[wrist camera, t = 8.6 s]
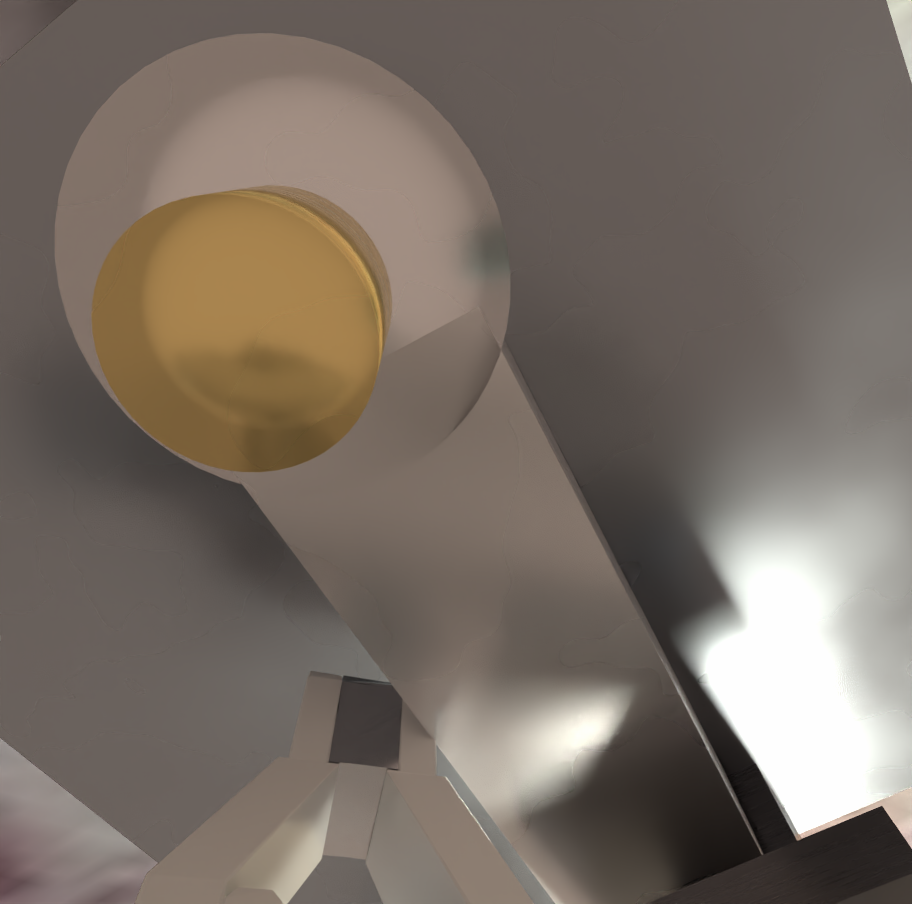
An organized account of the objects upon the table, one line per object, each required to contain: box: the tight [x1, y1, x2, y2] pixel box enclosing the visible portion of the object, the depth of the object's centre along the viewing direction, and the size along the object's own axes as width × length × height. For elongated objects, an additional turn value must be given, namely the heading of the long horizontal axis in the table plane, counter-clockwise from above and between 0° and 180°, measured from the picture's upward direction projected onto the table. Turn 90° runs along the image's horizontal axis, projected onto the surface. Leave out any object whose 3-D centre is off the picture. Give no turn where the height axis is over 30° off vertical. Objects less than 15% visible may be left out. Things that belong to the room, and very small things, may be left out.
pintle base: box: [0, 0, 912, 904], centre depth 10 cm, size 18×19×6 cm
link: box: [55, 33, 764, 904], centre depth 10 cm, size 14×4×3 cm, turn 28°
